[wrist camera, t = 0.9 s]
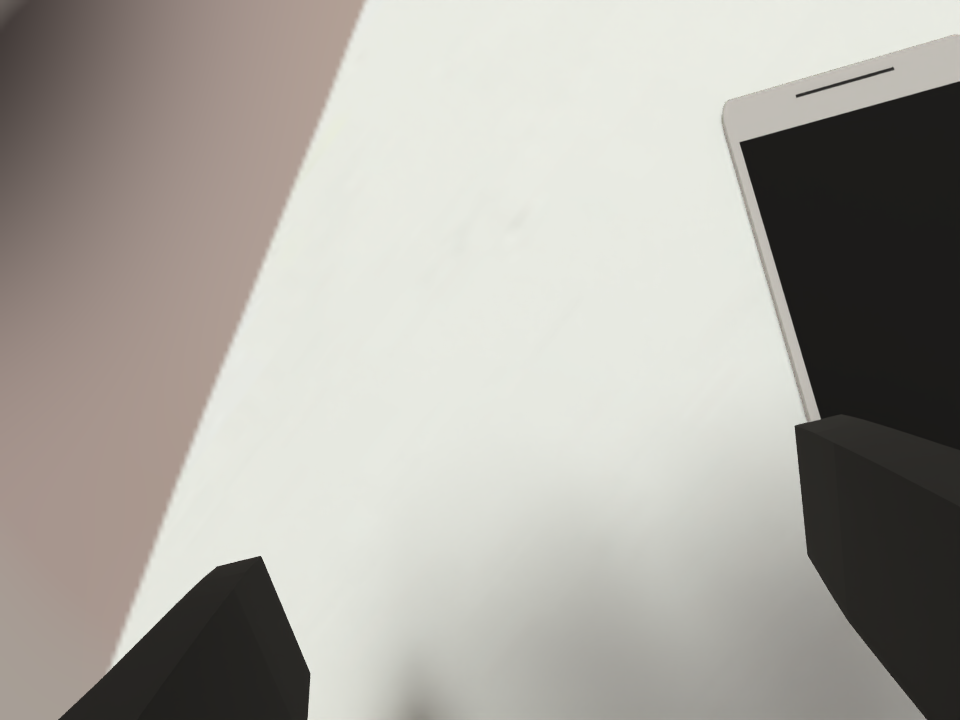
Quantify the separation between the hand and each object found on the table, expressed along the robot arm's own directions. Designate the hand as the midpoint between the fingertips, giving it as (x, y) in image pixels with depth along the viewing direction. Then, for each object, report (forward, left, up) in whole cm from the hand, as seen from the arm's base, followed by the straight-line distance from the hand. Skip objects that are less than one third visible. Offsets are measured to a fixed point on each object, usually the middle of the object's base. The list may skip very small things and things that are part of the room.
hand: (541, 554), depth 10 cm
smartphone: (+5, -9, -13) cm, 17 cm away
